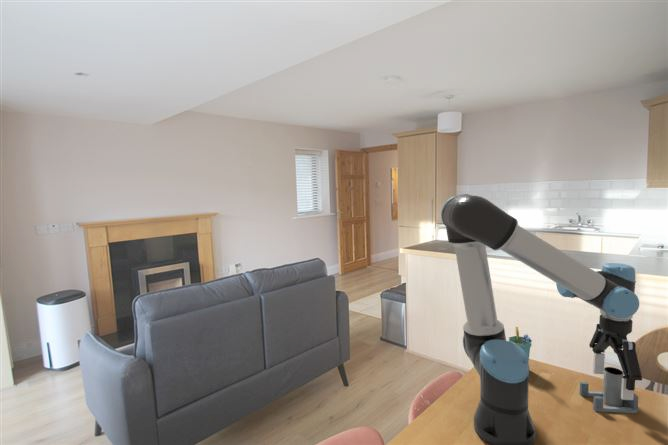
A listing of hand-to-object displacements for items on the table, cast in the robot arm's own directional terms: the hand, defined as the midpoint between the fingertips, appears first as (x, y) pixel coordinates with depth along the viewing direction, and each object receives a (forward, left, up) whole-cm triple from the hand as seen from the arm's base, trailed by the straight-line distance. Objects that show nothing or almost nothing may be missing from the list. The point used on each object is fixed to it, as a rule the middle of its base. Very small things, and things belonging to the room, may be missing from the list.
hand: (611, 385), depth 105 cm
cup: (-19, +18, -6) cm, 27 cm away
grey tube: (0, 0, -6) cm, 6 cm away
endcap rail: (-1, 0, -6) cm, 6 cm away
